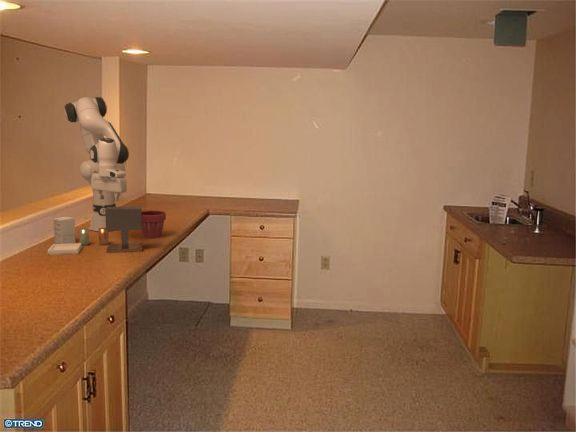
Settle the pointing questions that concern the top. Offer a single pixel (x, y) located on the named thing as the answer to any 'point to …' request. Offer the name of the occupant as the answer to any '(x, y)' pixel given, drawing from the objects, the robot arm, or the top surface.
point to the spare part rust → (103, 236)
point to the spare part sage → (84, 236)
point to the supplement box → (64, 230)
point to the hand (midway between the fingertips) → (108, 200)
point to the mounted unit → (124, 226)
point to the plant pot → (153, 223)
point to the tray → (65, 249)
